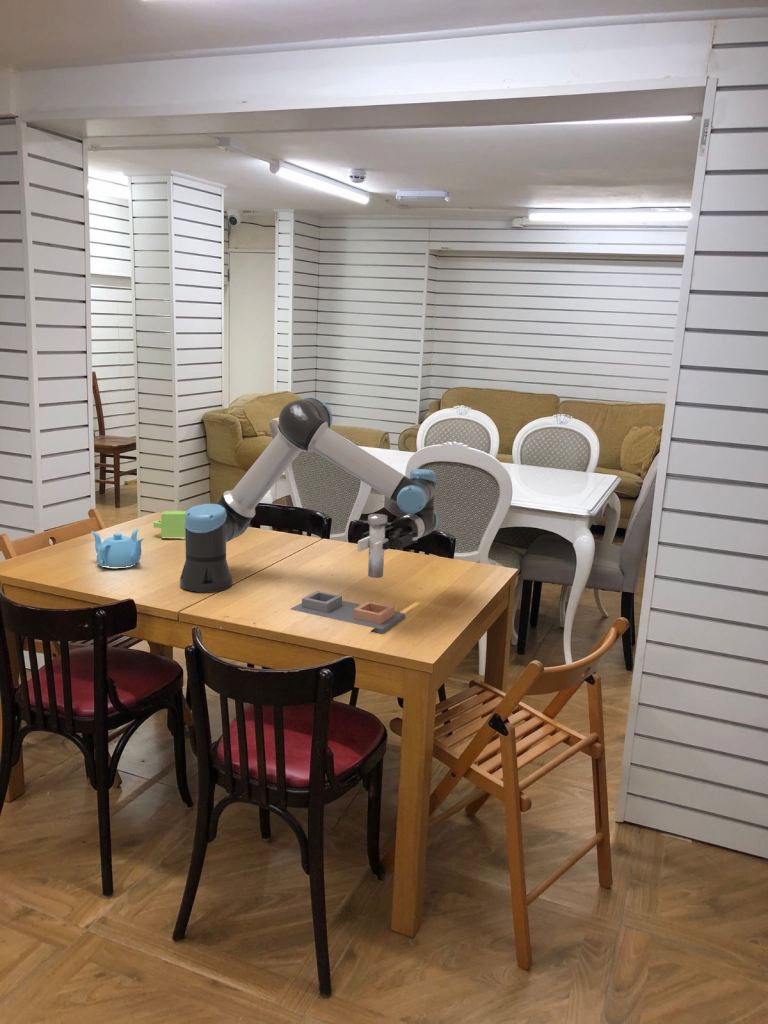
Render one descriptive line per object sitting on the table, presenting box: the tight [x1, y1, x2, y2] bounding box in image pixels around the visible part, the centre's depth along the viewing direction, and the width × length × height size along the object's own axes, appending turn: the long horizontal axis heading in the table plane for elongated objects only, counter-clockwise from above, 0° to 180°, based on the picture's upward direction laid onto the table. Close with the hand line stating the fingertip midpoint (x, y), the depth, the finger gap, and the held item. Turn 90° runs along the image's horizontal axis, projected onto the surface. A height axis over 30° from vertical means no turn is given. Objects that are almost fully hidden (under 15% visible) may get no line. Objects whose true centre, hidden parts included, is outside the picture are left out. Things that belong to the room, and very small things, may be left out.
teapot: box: [90, 528, 144, 567], centre depth 246 cm, size 15×15×10 cm
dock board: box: [290, 590, 406, 635], centre depth 210 cm, size 28×14×4 cm, turn 63°
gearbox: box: [153, 510, 188, 537], centre depth 284 cm, size 18×10×10 cm, turn 102°
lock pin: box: [367, 513, 388, 579], centre depth 202 cm, size 5×5×16 cm
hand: (367, 547), depth 197 cm, fingers closed on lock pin, 4 cm apart
